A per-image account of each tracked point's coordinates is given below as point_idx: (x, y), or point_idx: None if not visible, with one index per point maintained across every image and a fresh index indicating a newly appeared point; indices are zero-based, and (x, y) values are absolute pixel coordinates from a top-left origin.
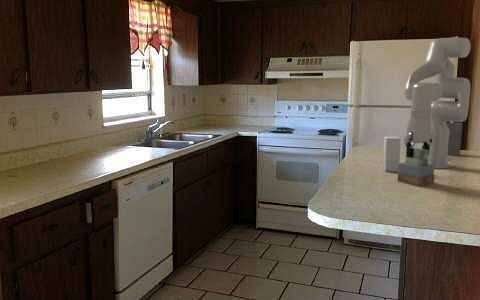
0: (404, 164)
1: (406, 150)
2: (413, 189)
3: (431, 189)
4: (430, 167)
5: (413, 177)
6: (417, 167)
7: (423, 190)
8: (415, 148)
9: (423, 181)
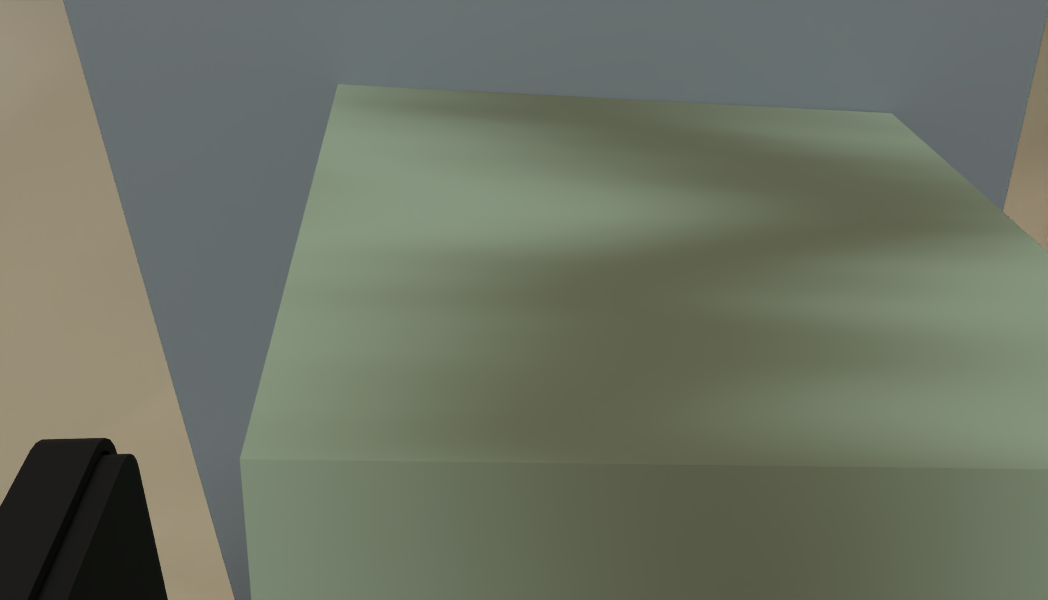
0: (132, 200)
1: (257, 401)
2: (44, 436)
3: None
4: None
5: None
6: (233, 584)
7: (164, 532)
8: (1026, 552)
9: None
